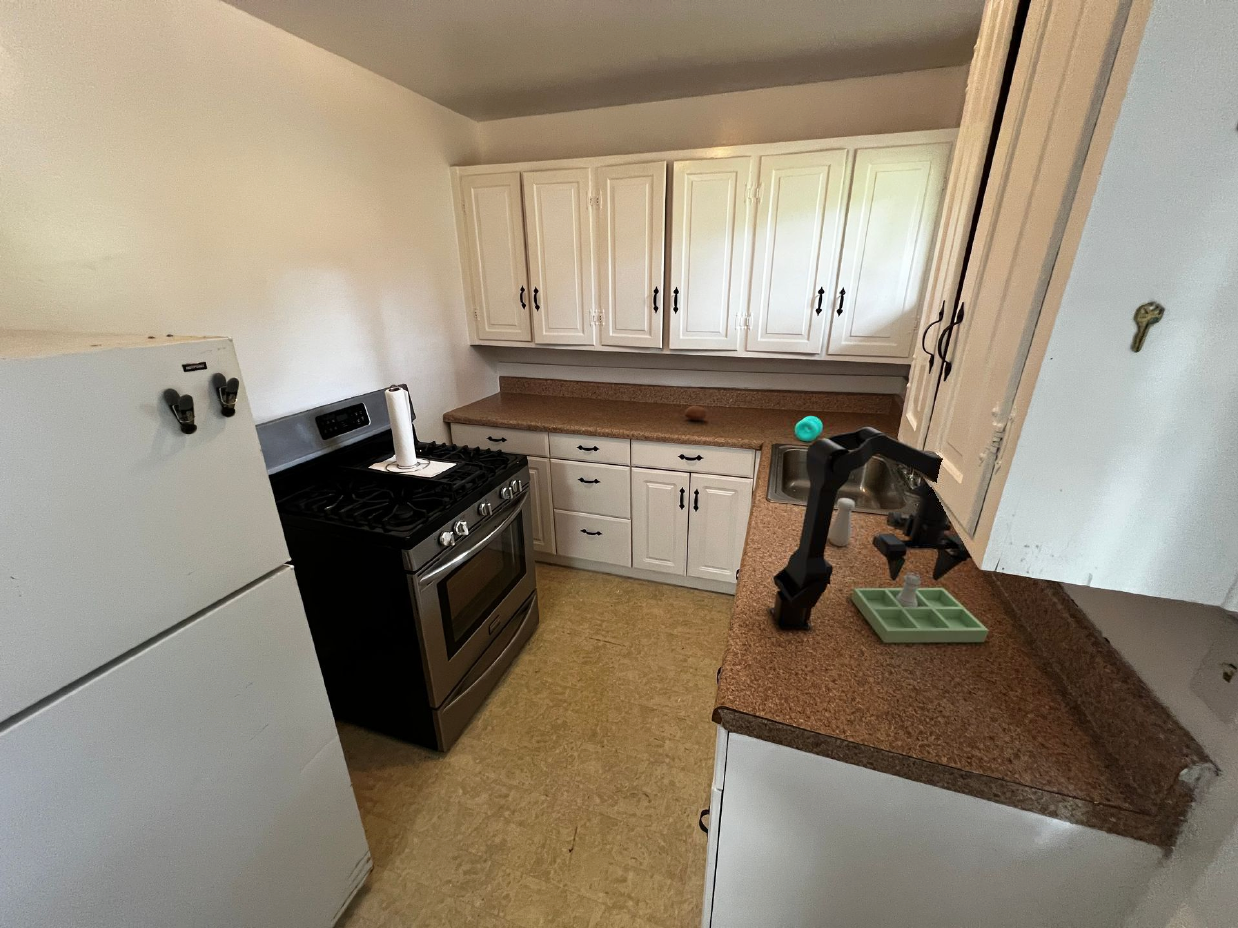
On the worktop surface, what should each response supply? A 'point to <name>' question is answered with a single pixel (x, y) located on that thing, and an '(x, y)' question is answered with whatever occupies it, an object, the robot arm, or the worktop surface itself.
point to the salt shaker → (842, 523)
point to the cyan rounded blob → (804, 432)
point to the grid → (918, 616)
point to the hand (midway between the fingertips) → (913, 579)
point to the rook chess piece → (909, 591)
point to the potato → (695, 413)
